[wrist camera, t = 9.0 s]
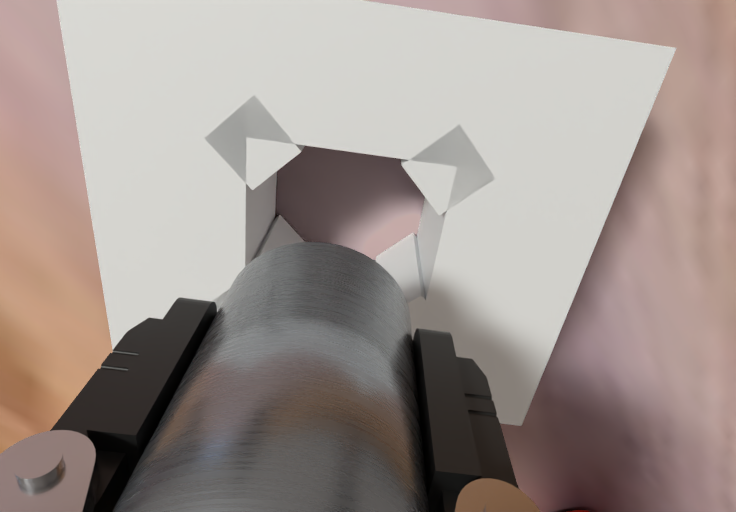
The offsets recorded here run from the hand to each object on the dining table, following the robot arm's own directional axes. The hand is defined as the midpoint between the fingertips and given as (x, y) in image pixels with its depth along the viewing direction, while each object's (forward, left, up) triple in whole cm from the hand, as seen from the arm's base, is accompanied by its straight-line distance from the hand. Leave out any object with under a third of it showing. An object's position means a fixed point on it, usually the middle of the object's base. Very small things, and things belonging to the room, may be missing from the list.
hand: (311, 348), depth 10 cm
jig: (0, 0, -10) cm, 10 cm away
